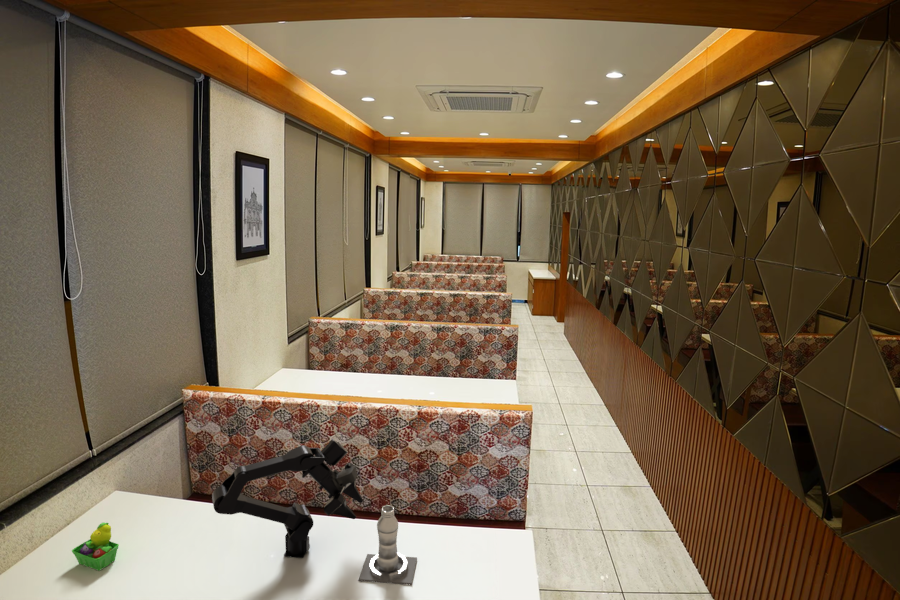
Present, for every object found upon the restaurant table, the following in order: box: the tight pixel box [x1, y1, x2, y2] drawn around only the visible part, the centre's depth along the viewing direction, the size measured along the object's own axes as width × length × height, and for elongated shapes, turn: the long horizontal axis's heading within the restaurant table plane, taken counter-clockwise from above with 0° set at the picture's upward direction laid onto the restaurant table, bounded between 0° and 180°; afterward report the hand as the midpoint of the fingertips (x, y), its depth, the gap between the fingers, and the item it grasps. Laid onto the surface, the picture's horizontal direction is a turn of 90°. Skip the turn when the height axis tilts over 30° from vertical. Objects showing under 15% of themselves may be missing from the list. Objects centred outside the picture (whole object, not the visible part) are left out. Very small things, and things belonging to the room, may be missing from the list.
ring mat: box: [358, 553, 418, 586], centre depth 164 cm, size 16×12×1 cm
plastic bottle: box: [376, 505, 399, 572], centre depth 162 cm, size 6×7×20 cm
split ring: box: [370, 551, 407, 581], centre depth 163 cm, size 11×11×2 cm
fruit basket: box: [71, 522, 120, 571], centre depth 164 cm, size 11×9×11 cm
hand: (358, 509), depth 171 cm, fingers open, 9 cm apart
